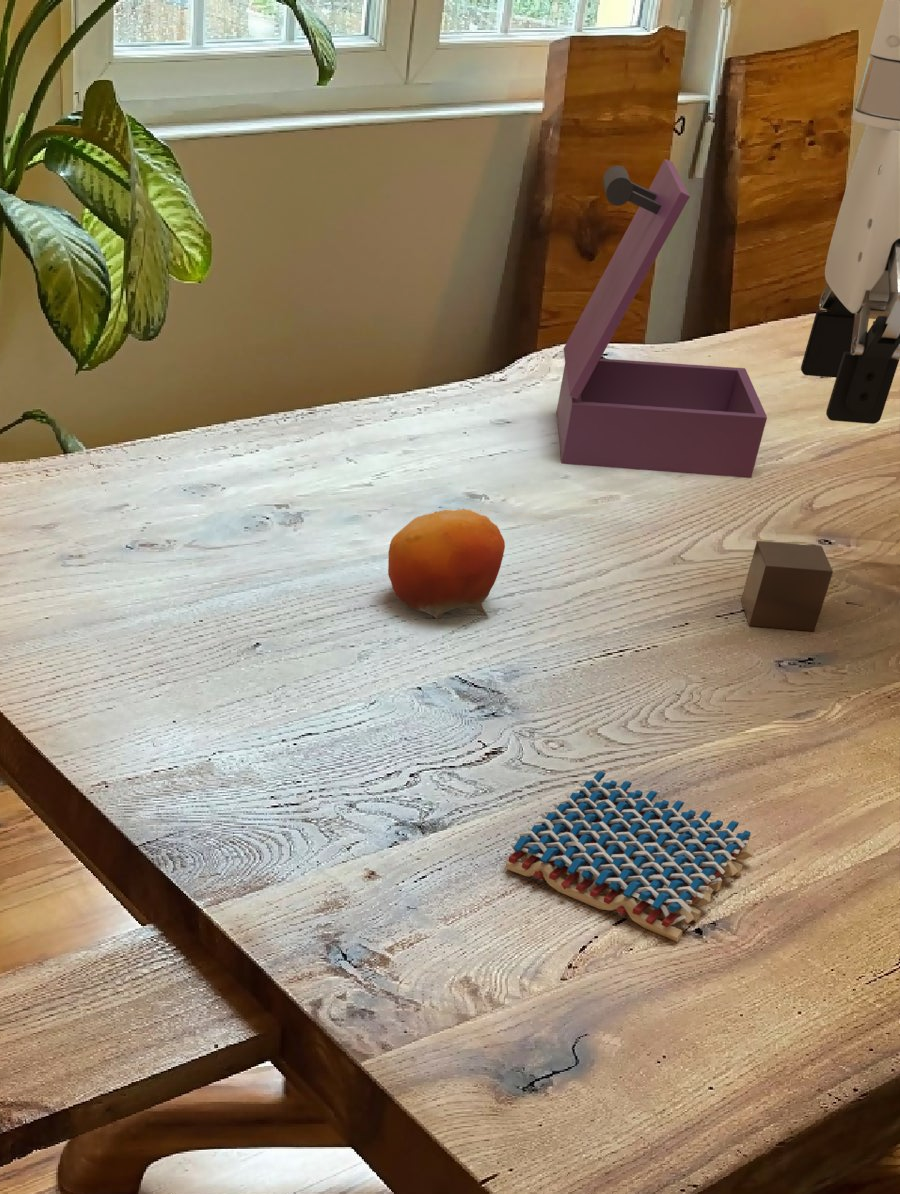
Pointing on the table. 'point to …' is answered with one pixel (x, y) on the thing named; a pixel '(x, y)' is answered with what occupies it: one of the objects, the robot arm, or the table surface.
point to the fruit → (445, 561)
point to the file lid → (624, 265)
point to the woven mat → (630, 854)
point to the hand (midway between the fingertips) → (837, 397)
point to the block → (786, 586)
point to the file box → (662, 419)
